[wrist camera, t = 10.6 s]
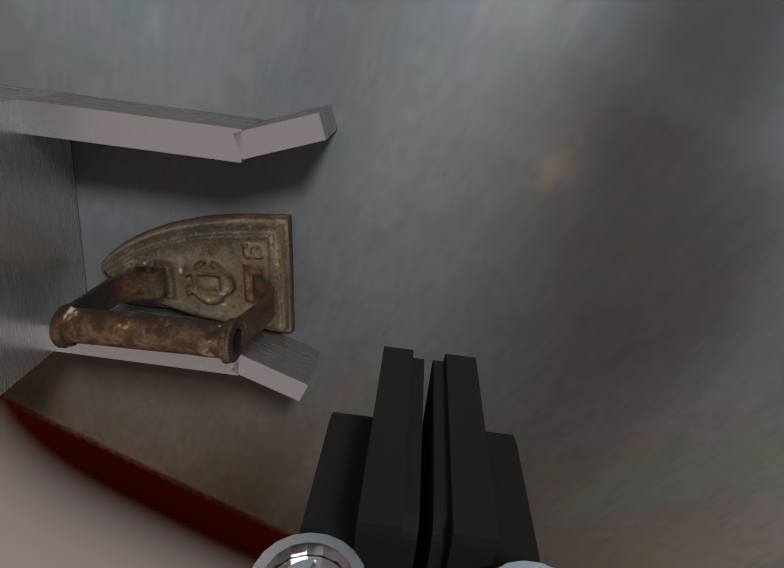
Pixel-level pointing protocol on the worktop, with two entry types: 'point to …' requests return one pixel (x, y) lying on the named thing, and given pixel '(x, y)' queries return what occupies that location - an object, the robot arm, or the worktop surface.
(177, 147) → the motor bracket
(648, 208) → the worktop surface
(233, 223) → the clothes iron
